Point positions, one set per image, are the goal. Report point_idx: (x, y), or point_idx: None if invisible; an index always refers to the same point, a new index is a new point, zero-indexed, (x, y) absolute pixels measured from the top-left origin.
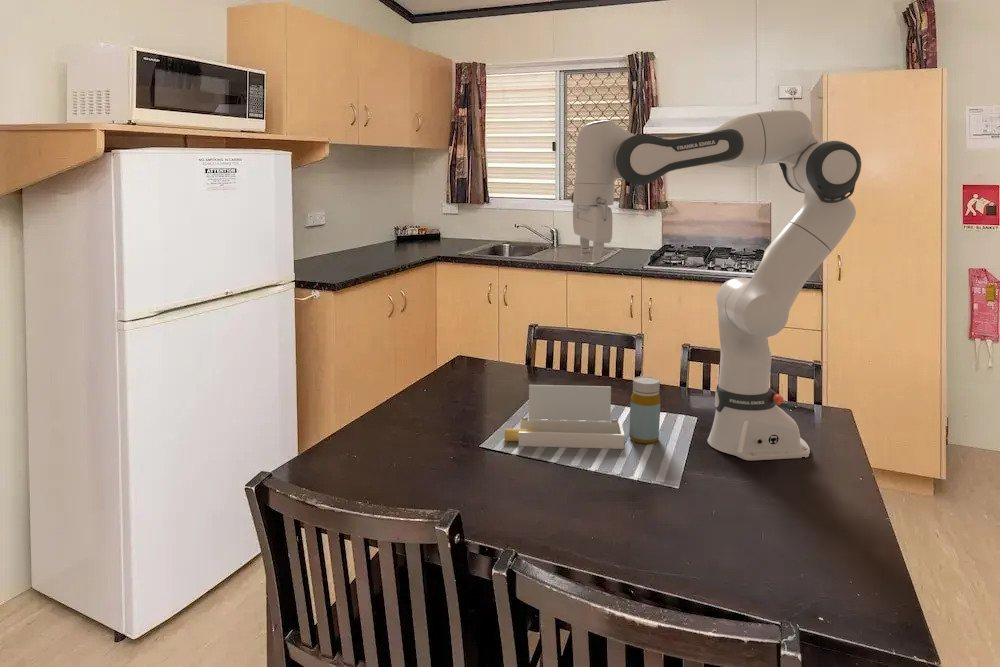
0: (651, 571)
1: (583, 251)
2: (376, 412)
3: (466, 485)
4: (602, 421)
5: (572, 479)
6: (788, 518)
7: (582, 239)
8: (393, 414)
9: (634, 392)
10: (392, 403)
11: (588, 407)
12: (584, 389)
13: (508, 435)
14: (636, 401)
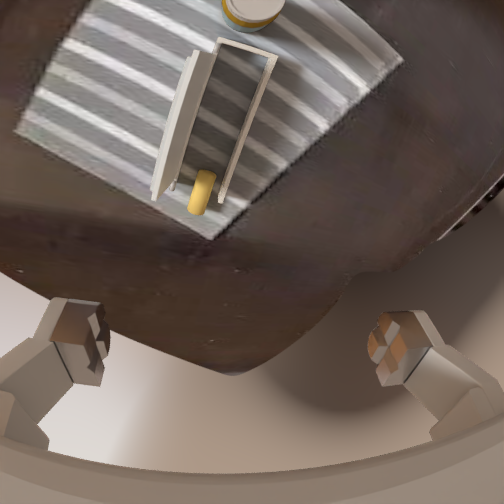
0: (486, 172)
1: (103, 366)
2: None
3: (310, 266)
4: None
5: (341, 161)
6: (477, 16)
7: (43, 442)
8: None
9: (254, 22)
10: None
11: (196, 90)
12: (184, 101)
13: (205, 208)
14: (265, 24)
